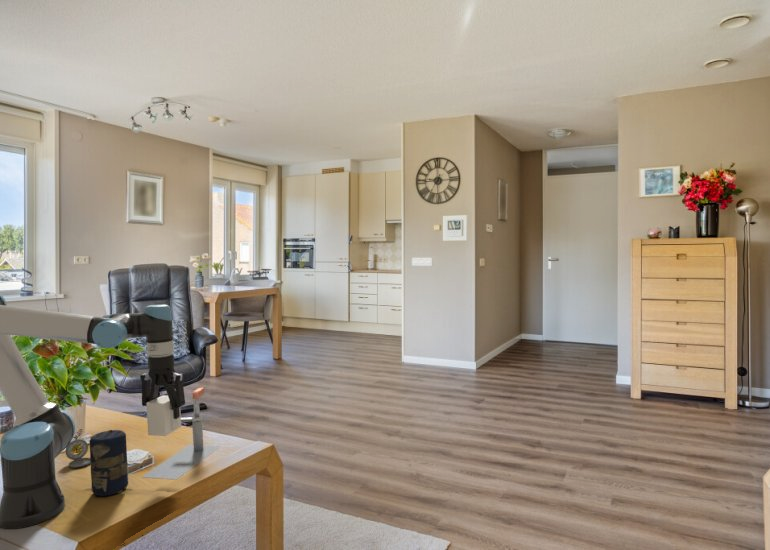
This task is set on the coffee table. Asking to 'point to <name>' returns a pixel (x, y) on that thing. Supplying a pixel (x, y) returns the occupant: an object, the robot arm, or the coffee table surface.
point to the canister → (108, 462)
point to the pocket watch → (78, 457)
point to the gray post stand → (184, 457)
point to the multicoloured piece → (195, 406)
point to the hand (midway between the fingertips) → (164, 428)
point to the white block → (160, 416)
